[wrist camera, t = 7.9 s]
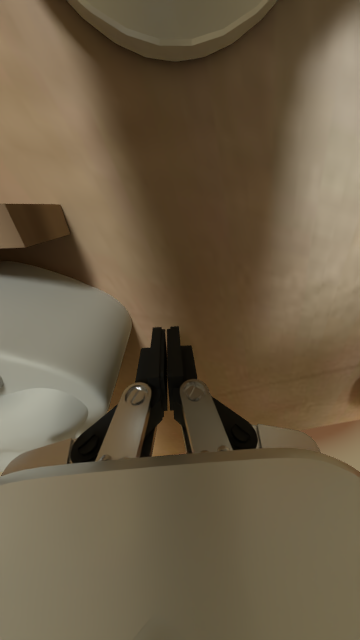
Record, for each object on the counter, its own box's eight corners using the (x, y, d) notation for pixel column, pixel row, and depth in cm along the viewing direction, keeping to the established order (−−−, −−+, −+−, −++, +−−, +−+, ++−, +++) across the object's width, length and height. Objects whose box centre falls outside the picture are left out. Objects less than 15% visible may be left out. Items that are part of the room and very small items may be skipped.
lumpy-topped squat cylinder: (112, 383, 18) (76, 499, 11) (-43, 352, 15) (-241, 489, 8) (141, 301, 13) (111, 413, 6) (-82, 225, 10) (-750, 277, 3)
